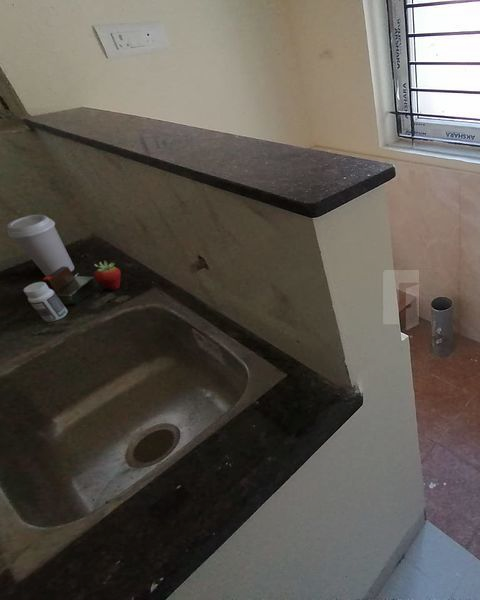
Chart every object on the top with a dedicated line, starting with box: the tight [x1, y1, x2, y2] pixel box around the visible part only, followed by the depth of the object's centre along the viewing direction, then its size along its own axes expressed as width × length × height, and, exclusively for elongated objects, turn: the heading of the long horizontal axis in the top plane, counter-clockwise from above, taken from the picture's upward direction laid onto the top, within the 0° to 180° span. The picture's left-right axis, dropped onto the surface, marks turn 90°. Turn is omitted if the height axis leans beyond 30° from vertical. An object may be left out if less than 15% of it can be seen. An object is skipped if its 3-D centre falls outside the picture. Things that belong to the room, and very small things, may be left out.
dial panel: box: [55, 272, 100, 306], centre depth 96 cm, size 10×10×3 cm
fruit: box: [93, 259, 122, 291], centre depth 96 cm, size 5×5×8 cm
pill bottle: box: [23, 281, 69, 323], centre depth 88 cm, size 5×5×8 cm
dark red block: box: [42, 267, 75, 292], centre depth 94 cm, size 6×2×4 cm, turn 175°
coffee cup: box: [7, 214, 75, 277], centre depth 101 cm, size 10×10×15 cm
